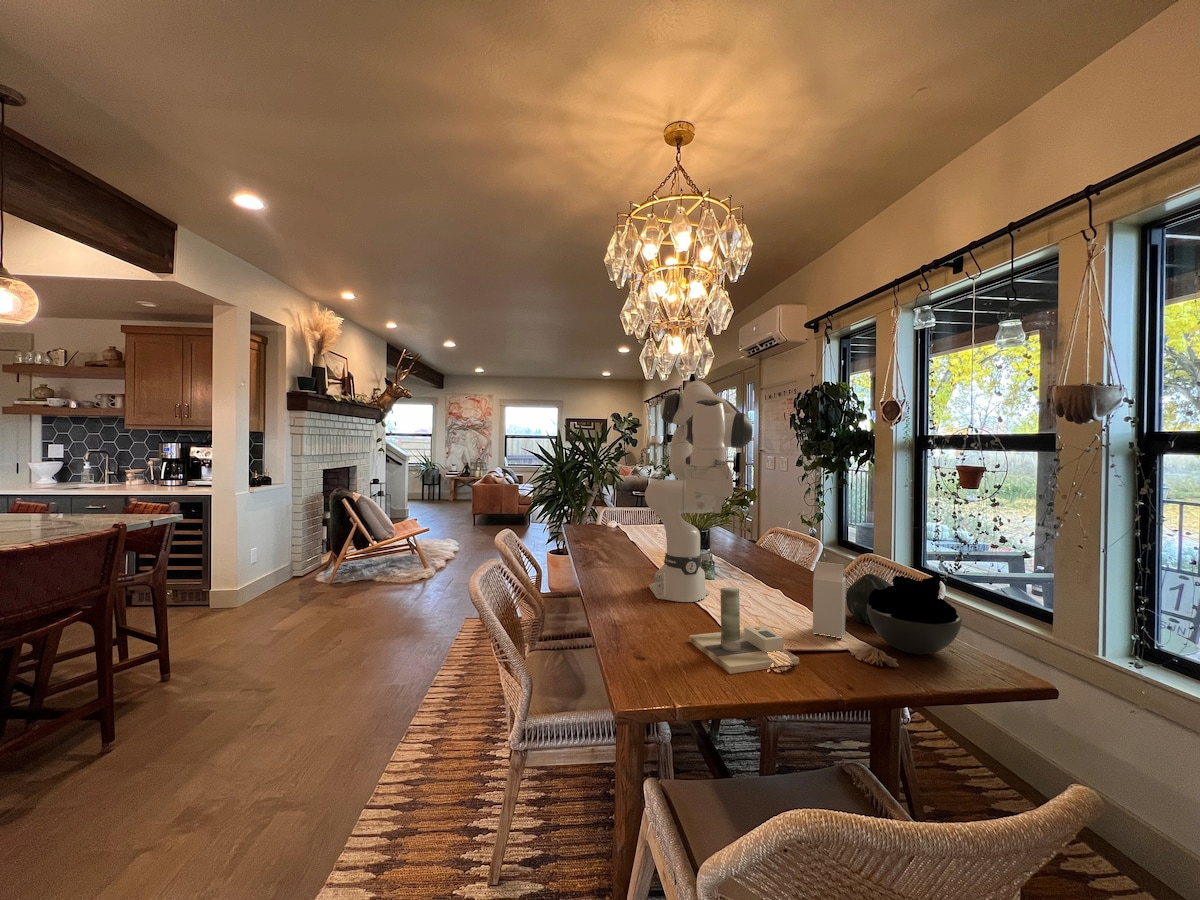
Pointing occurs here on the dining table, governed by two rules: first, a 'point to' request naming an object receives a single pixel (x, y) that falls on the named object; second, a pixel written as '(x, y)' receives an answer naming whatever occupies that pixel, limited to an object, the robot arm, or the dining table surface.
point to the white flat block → (735, 653)
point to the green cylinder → (730, 619)
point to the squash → (863, 595)
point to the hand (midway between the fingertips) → (708, 510)
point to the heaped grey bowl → (913, 615)
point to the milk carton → (829, 599)
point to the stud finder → (763, 638)
